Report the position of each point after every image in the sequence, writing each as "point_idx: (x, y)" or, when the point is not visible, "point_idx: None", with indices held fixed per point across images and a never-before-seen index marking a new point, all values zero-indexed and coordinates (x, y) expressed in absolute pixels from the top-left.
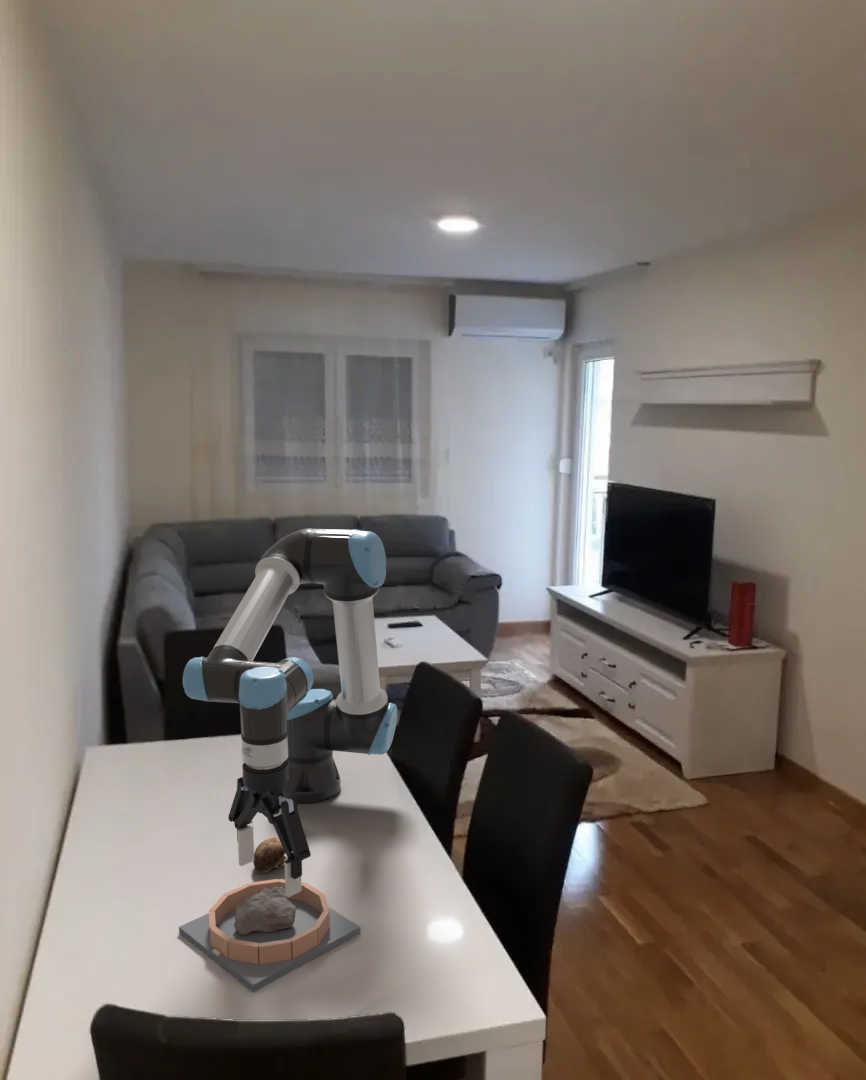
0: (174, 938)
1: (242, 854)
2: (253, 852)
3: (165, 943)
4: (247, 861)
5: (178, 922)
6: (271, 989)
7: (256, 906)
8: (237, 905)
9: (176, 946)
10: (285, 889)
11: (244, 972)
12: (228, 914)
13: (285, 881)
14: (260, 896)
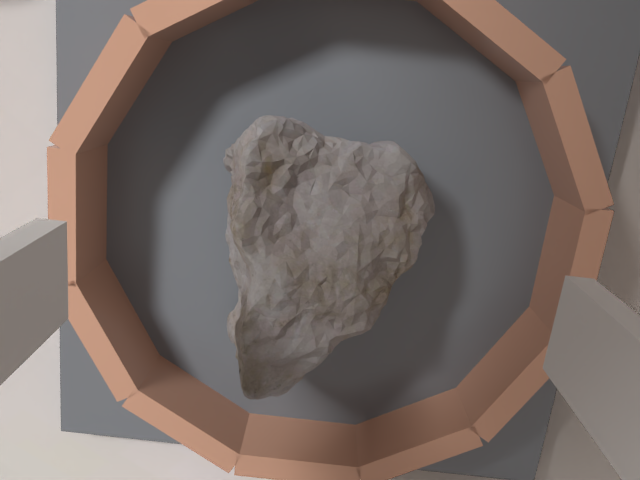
0: (87, 440)
1: (29, 344)
2: (37, 244)
3: (91, 472)
4: (61, 279)
5: (8, 379)
6: (565, 423)
7: (325, 346)
8: (250, 397)
9: (133, 462)
10: (559, 390)
11: (461, 457)
12: (125, 272)
13: (585, 424)
14: (289, 299)
